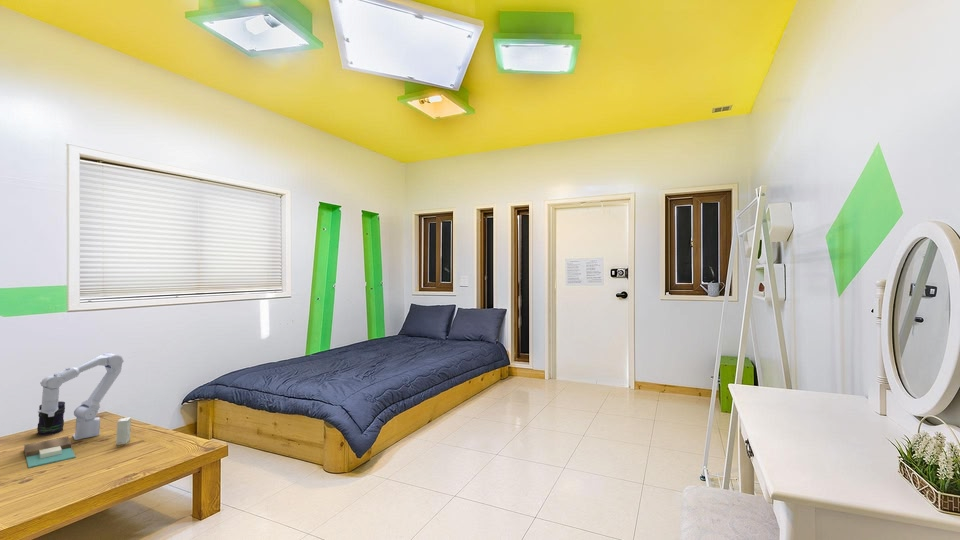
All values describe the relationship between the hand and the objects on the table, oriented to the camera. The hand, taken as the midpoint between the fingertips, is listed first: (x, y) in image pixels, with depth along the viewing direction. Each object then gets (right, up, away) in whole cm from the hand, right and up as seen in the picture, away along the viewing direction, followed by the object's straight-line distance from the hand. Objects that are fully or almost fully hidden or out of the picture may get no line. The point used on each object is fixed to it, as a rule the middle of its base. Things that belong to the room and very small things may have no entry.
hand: (48, 427), depth 203 cm
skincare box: (+29, -12, +9) cm, 33 cm away
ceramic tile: (+11, -9, -9) cm, 17 cm away
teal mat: (+13, -10, -11) cm, 20 cm away
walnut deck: (+3, -10, -3) cm, 11 cm away
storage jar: (-16, -9, +16) cm, 24 cm away
